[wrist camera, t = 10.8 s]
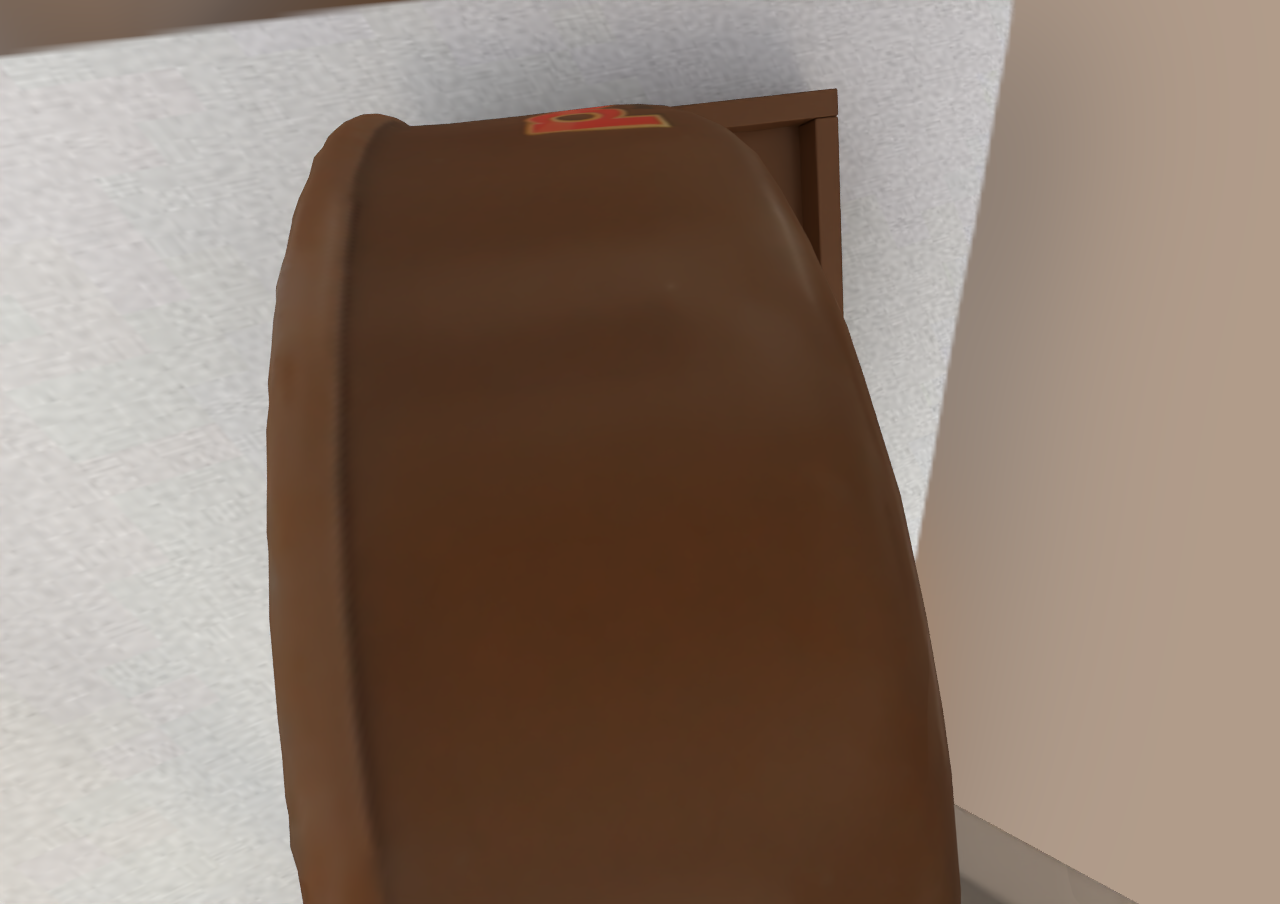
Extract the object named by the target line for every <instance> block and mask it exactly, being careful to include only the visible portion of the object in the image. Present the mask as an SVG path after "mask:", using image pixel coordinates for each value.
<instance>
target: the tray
mask: <svg viewBox="0 0 1280 904" xmlns="http://www.w3.org/2000/svg"><path fill="white" fill-rule="evenodd" d="M672 108H676V109H680V110H685V111H689V112H692V113H695V114H697V115H699V116H702V117H704V118H706V119H708V120H711V121H713V122H715V123H718V124H720V125H722V126H723V127H725V128H726V129H728V130H730V131H731V132H732V133H734V134H735V135H736V136H737V137H738V138H739V139H741V140H742V141H743V142H744V143H745V144H746V145H748V146H749V147H750V148H751V149H752V150H753V151H755V152H756V153H757V154H758V156H759V157H760V159H761V160H762V162H763V163H764V165H765V166H766V168H767V169H768V171H769V172H770V174H771V175H772V177H773V178H774V180H775V181H776V183H777V184H778V186H779V187H780V189H781V191H782V192H783V194H784V196H785V198H786V200H787V201H788V203H789V205H790V207H791V208H792V210H793V212H794V214H795V216H796V217H797V219H798V221H799V223H800V225H801V226H802V228H803V230H804V232H805V233H806V235H807V237H808V239H809V241H810V243H811V245H812V247H813V250H814V252H815V254H816V257H817V259H818V261H819V263H820V266H821V268H822V270H823V272H824V275H825V277H826V279H827V281H828V284H829V286H830V288H831V290H832V293H833V295H834V297H835V300H836V302H837V304H838V306H839V309H840V311H841V313H842V315H843V282H842V247H841V211H840V175H839V139H838V117H837V115H838V95H837V89H836V88H835V89H826V90H817V91H808V92H799V93H790V94H781V95H772V96H763V97H754V98H745V99H736V100H727V101H717V102H708V103H699V104H690V105H681V106H672Z"/></svg>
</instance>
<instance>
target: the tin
mask: <svg viewBox="0 0 1280 904" xmlns="http://www.w3.org/2000/svg"><path fill="white" fill-rule="evenodd" d="M268 392H269V410H268V419H267V429H266V440H267V540H268V551H269V620H270V632H271V644H272V656H273V668H274V679H275V691H276V703H277V715H278V725H279V733H280V741H281V750H282V760H283V773H284V786H285V798H286V803H287V809H288V814H289V828H290V847H291V851H292V854H293V857H294V860H295V864H296V867H297V870H298V876H299V882H300V887H301V893H302V899H303V904H961V885H960V873H959V860H958V848H957V835H956V823H955V811H954V798H953V786H952V773H951V765H950V758H949V751H948V744H947V737H946V730H945V723H944V715H943V708H942V703H941V697H940V691H939V685H938V680H937V674H936V669H935V663H934V657H933V651H932V646H931V640H930V634H929V628H928V623H927V617H926V612H925V607H924V603H923V598H922V593H921V589H920V584H919V580H918V574H917V570H916V565H915V560H914V556H913V551H912V546H911V541H910V537H909V532H908V527H907V523H906V518H905V513H904V508H903V504H902V499H901V495H900V492H899V488H898V485H897V482H896V479H895V475H894V472H893V469H892V466H891V462H890V459H889V456H888V453H887V449H886V446H885V443H884V440H883V437H882V433H881V430H880V427H879V424H878V420H877V417H876V414H875V411H874V407H873V404H872V401H871V398H870V394H869V391H868V388H867V385H866V381H865V378H864V375H863V372H862V369H861V366H860V363H859V360H858V357H857V354H856V351H855V348H854V345H853V342H852V339H851V336H850V333H849V330H848V327H847V324H846V322H845V320H844V318H843V315H842V313H841V311H840V309H839V306H838V304H837V302H836V300H835V297H834V295H833V293H832V290H831V288H830V286H829V284H828V281H827V279H826V277H825V275H824V272H823V270H822V268H821V266H820V263H819V261H818V259H817V257H816V254H815V252H814V250H813V247H812V245H811V243H810V241H809V239H808V237H807V235H806V233H805V232H804V230H803V228H802V226H801V225H800V223H799V221H798V219H797V217H796V216H795V214H794V212H793V210H792V208H791V207H790V205H789V203H788V201H787V200H786V198H785V196H784V194H783V192H782V191H781V189H780V187H779V186H778V184H777V183H776V181H775V180H774V178H773V177H772V175H771V174H770V172H769V171H768V169H767V168H766V166H765V165H764V163H763V162H762V160H761V159H760V157H759V156H758V154H757V153H756V152H755V151H753V150H752V149H751V148H750V147H749V146H748V145H746V144H745V143H744V142H743V141H742V140H741V139H739V138H738V137H737V136H736V135H735V134H734V133H732V132H731V131H730V130H728V129H726V128H725V127H723V126H722V125H720V124H718V123H715V122H713V121H711V120H708V119H706V118H704V117H702V116H699V115H697V114H695V113H692V112H689V111H685V110H680V109H676V108H672V107H668V106H664V105H646V104H624V105H609V106H601V107H592V108H584V109H576V110H568V111H559V112H551V113H543V114H535V115H526V116H518V117H508V118H499V119H490V120H480V121H471V122H461V123H452V124H439V125H423V126H409V125H407V124H406V123H405V122H403V121H401V120H399V119H397V118H394V117H390V116H386V115H382V114H364V115H360V116H358V117H355V118H353V119H351V120H348V121H346V122H344V123H343V124H342V125H341V126H339V127H338V128H337V129H336V130H335V131H334V132H333V133H332V134H331V135H330V136H329V137H328V138H327V140H326V142H325V144H324V146H323V148H322V149H321V150H320V151H319V152H318V153H317V155H316V156H315V157H314V160H313V163H312V167H311V171H310V175H309V178H308V180H307V182H306V184H305V186H304V189H303V191H302V193H301V195H300V197H299V200H298V203H297V206H296V209H295V212H294V215H293V218H292V225H291V230H290V235H289V240H288V245H287V250H286V254H285V257H284V260H283V263H282V267H281V271H280V274H279V278H278V282H277V286H276V307H275V313H274V320H273V333H272V347H271V358H270V367H269V377H268Z"/></svg>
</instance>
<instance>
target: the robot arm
mask: <svg viewBox="0 0 1280 904" xmlns="http://www.w3.org/2000/svg"><path fill="white" fill-rule="evenodd" d="M954 811H955V823H956V835H957V848H958V860H959V873H960V885H961V904H1138V903H1136V902H1134V901H1132V900H1130V899H1129V898H1127V897H1125V896H1123V895H1121V894H1119V893H1117V892H1116V891H1114V890H1112V889H1110V888H1108V887H1106V886H1105V885H1103V884H1101V883H1099V882H1097V881H1095V880H1094V879H1092V878H1090V877H1088V876H1086V875H1084V874H1082V873H1080V872H1079V871H1077V870H1075V869H1073V868H1071V867H1070V866H1068V865H1065V864H1064V863H1062V862H1060V861H1059V860H1057V859H1055V858H1053V857H1051V856H1049V855H1047V854H1045V853H1044V852H1042V851H1040V850H1038V849H1036V848H1035V847H1033V846H1031V845H1029V844H1027V843H1025V842H1023V841H1022V840H1020V839H1018V838H1016V837H1014V836H1012V835H1010V834H1009V833H1007V832H1005V831H1003V830H1001V829H999V828H998V827H996V826H994V825H992V824H990V823H988V822H986V821H985V820H983V819H981V818H979V817H977V816H976V815H974V814H972V813H970V812H968V811H966V810H965V809H963V808H961V807H959V806H957V805H955V804H954Z"/></svg>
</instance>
